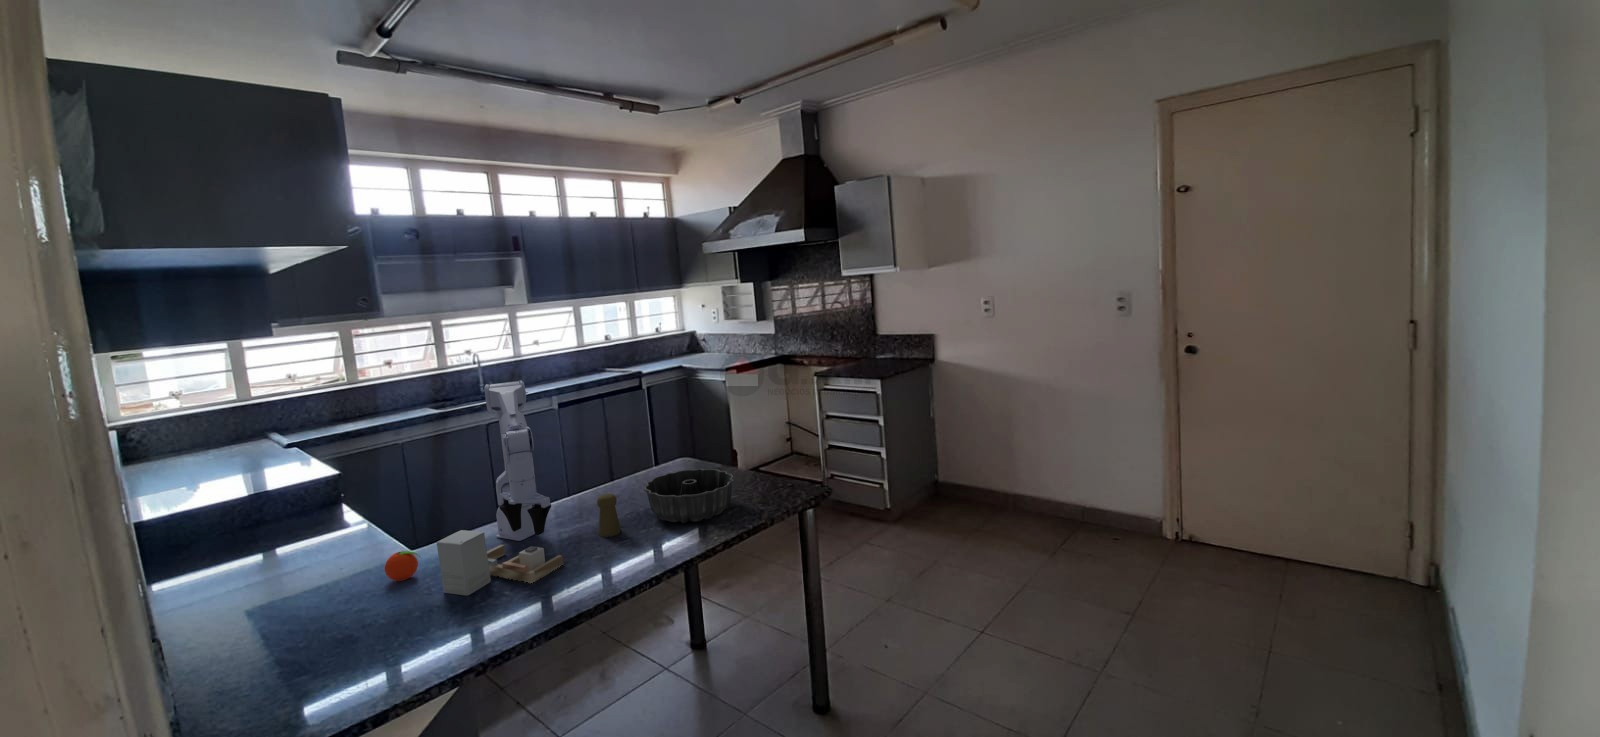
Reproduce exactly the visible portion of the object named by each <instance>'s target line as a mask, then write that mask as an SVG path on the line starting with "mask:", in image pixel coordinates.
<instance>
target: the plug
mask: <svg viewBox="0 0 1600 737" xmlns="http://www.w3.org/2000/svg"><path fill="white" fill-rule="evenodd" d="M518 555H519V558H520V564H522V565H527V566H528V570H530V571H531V570H533V569H535V568H537V567H538V566H540V565H542V564H544V563H545V562H546V558H545V550H544V548H543V547H539V546H533V545H530V546H528V547H527V548H525V549H523V550H521V551H519V552H518Z"/></svg>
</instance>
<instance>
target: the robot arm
mask: <svg viewBox="0 0 1600 737" xmlns="http://www.w3.org/2000/svg"><path fill="white" fill-rule="evenodd" d="M483 389H484V397H485V398H484V399H485V403H486V410H487V411H488V413H490V414H495V416H496V417H497V419H498V421H499V422H498V423H499V430H500V432H499V433H500V438H501V439H500V440H501V446H502V447H501V448H502V454H503V455H502V456H503V461H504V462H503V463H504V471H503V472H502V473H501V474H500V475H499V476H498V477H497V478H496V481H495V484H496V486H495V490H496V496H497V497H496V498H497V505H498V508H497V510H496V512H495V513H496V515H495V516H496V524H497V533H498V534H496V536H495V537H496V538H501V539H506V540H511V541H519V542H522V541H524V540H526V539H528V538H530V537H531V536H533V535H535V536H539V535H541V534H544V533H545V528H546V521H547V518H548V515H549V512H550V510H551V508H552V503H551V499H550V497H549V496H545V495H542V494H541V493H538V492H537V484H536V476H535V466H534V458H533V452H534V448H535V447H534V446H535V445H534V438H533V437H534V436H533V432H532V429H531V427H529V426H528V424H527V420H526V417H525V415H524V414H523V413H522V412H521V410H522V409H525V405H526V401H527V393H526V392H527V391H526V387H525V382H524V381H523V380H517V381H507V382H502V383H501V382H500V383H492V384H488V383H486V384H485V386H484V388H483Z"/></svg>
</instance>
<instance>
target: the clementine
mask: <svg viewBox="0 0 1600 737" xmlns="http://www.w3.org/2000/svg"><path fill="white" fill-rule="evenodd" d="M416 556H417V557H419V558H420V559H422V557H421V556H420V555H419V554H418V553H416V552H415V551H410V550H406V551H405V550H403V551H402V550H401V551H398V552H395V553H394V554H391V556H389V557H388V559H387V560H386V561H385V564H384V572H385V575H386V576H387V577H388V579H390V580H392V581H395V582H402V581H406V580H408V579H410V578H412V577H413V576H414V574H415V573H416V572H417V569H418V566H419V561H418V559H417V557H416Z"/></svg>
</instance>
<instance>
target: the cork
mask: <svg viewBox="0 0 1600 737" xmlns="http://www.w3.org/2000/svg"><path fill="white" fill-rule="evenodd" d="M596 503H597V506H598V508H599V518H598V521H599V522H598V536H599V535H600V537H601V536H603V537H602V538H611V537H615V536H617V535H619V534H621V531H622V530H621V525H620V522H619V517H618V512H617V508H616V504H617V497H616V495H615V494H614V493H605V494H601V495H599V496H598V497H597V499H596ZM614 535H615V536H614ZM608 536H609V537H608ZM610 536H611V537H610Z"/></svg>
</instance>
